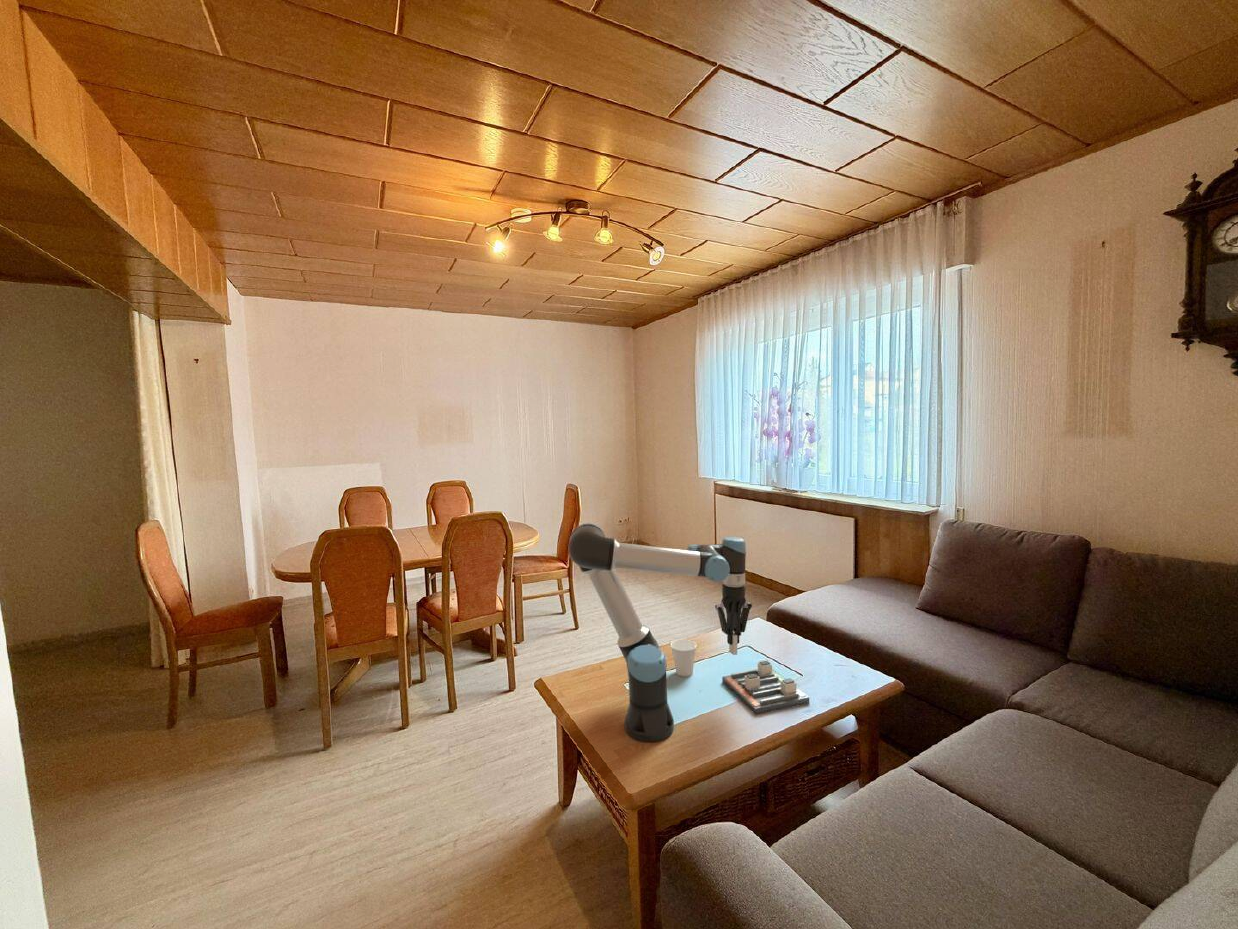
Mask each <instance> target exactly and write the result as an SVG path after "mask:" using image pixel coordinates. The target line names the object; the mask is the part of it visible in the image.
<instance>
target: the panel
mask: <svg viewBox="0 0 1238 929" xmlns="http://www.w3.org/2000/svg"><path fill="white" fill-rule="evenodd" d="M749 674H756V675H757V676H758V677H759V678H760V687H759V688H754V689H749V690H747V689H746V688H745V676H746V675H749ZM721 679H722V681H721V682H722V683H723V685H725V686H726V688H727V689H729V690H730V691H731V692H732V693H733V694H734V695H735V696H736V697H737V698H738V699H739V700H740V701H741V702H742V703H743V704H744V705H745V706H746V707H747V708H748V709H749V710H750V711H751V712H752V713H753V714H754V715H755V716H757V715H761V714H767V713H771V712H775V711H781V710H786V709H789V707H790V708H794V707H798V706H797V705H799V706H803V705H808V704H810V696H808V695H807V694H806V693H804V692H803V691H802V690H801V689H799V688H798V687H797V692H796V693H791V694H786V695H784V694H782V693H781V680H784V679H786V678H785V677H784V676H782V675H781V674H780V673H778V672H777V671H775V670H774V669H773V668H772V673H771V674H766V675H761V676H760V675H759V674H758V668H757V669H751V670H745V671H744V670H743V671H740V672H734V673H731V675H726V676H722V677H721ZM807 703H808V704H807ZM793 706H794V707H793Z"/></svg>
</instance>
